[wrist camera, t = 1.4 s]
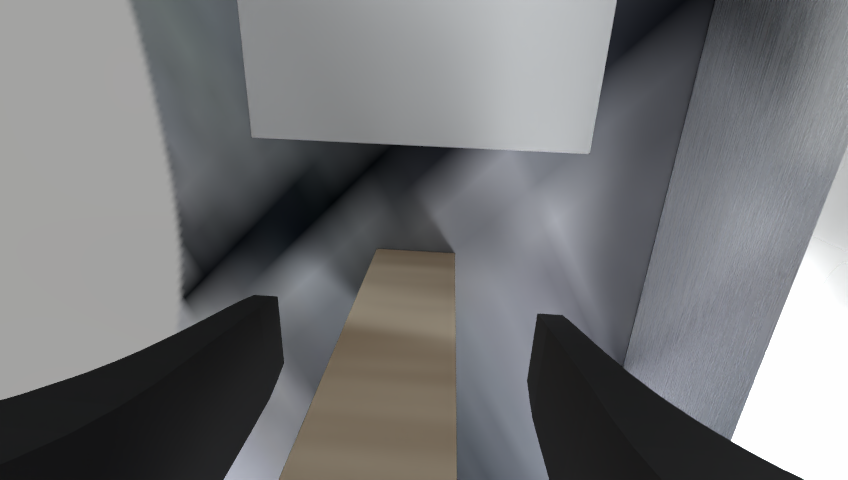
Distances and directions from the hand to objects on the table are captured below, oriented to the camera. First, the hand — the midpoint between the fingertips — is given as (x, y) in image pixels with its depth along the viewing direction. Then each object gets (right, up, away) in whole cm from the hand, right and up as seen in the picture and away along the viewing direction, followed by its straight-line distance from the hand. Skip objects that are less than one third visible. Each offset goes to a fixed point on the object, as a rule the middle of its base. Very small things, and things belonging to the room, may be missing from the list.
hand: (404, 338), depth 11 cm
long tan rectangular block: (0, +1, +3) cm, 3 cm away
